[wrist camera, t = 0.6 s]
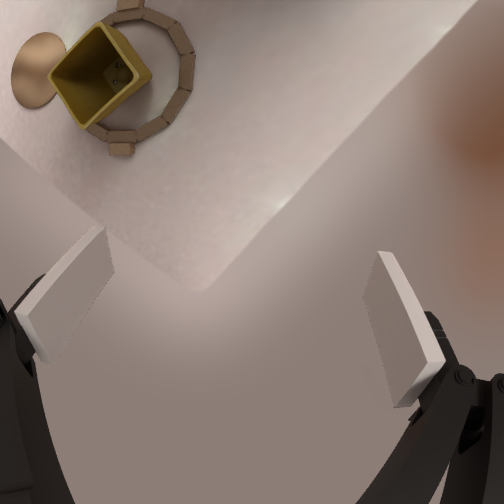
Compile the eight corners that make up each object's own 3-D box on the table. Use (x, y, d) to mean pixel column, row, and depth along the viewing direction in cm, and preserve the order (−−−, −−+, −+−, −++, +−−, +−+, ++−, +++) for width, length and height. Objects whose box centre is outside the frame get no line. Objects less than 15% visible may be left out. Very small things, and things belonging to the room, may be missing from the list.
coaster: (15, 43, 26) (13, 43, 25) (70, 24, 26) (67, 24, 25) (13, 112, 32) (11, 112, 32) (65, 102, 32) (62, 103, 32)
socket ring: (77, 13, 25) (70, 11, 24) (202, -6, 25) (199, -10, 24) (72, 152, 36) (66, 155, 35) (188, 154, 36) (185, 157, 34)
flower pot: (170, 78, 31) (140, 78, 23) (119, 120, 34) (81, 132, 26) (135, 29, 27) (99, 19, 20) (87, 73, 30) (45, 76, 22)
